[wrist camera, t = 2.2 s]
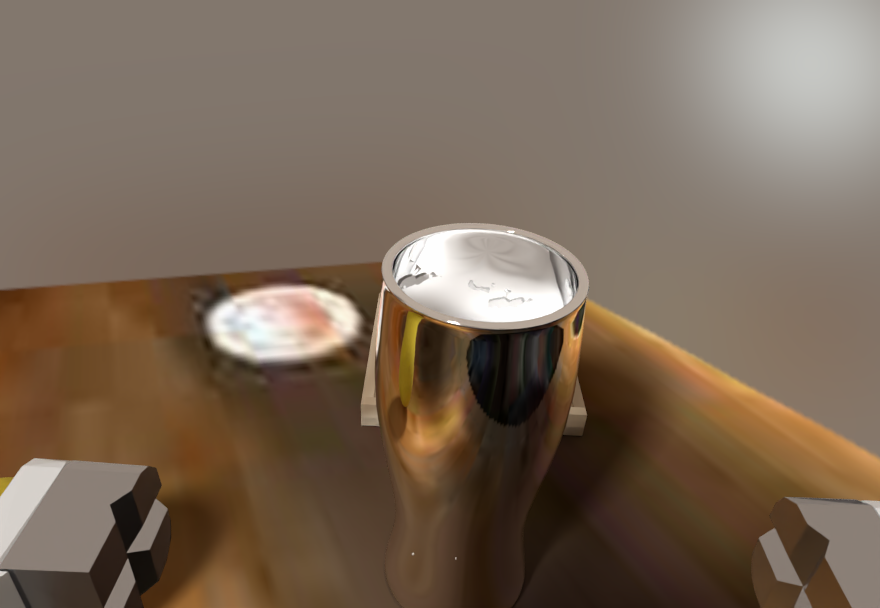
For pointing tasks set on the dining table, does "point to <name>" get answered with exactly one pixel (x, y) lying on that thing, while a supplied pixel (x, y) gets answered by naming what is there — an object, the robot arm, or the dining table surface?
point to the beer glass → (472, 402)
